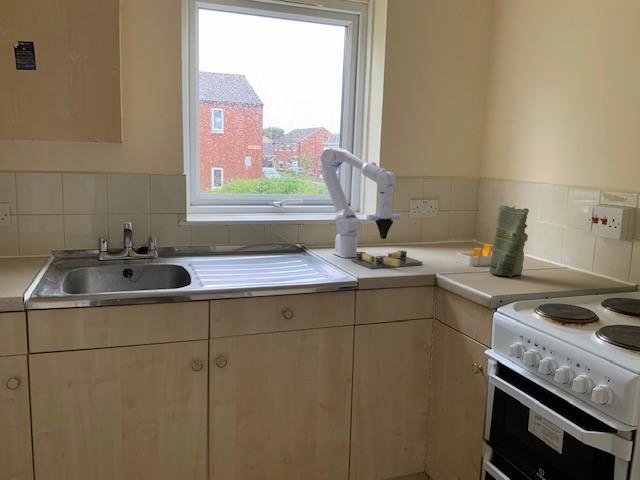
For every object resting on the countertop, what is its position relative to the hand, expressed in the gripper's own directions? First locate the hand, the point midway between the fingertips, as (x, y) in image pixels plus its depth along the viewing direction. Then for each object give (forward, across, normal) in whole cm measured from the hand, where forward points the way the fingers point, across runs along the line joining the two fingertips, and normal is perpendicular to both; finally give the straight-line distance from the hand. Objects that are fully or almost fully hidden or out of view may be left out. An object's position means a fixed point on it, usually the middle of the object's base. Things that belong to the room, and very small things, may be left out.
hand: (383, 238), depth 221 cm
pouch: (+9, +30, -36) cm, 47 cm away
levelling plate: (+9, 0, -4) cm, 10 cm away
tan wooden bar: (+7, -9, -2) cm, 12 cm away
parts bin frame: (+9, +36, -14) cm, 40 cm away
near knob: (+7, -5, -11) cm, 14 cm away
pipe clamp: (+9, +36, -14) cm, 40 cm away
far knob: (+7, +5, -3) cm, 9 cm away
